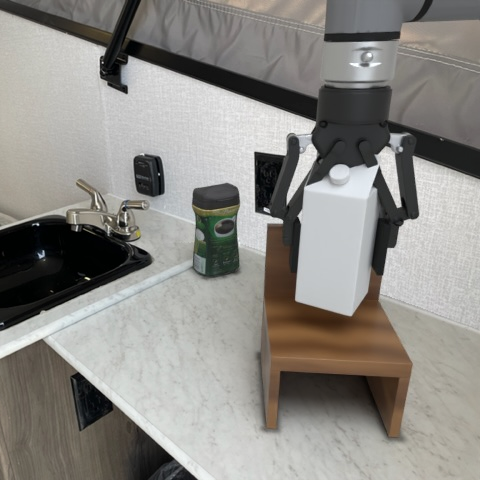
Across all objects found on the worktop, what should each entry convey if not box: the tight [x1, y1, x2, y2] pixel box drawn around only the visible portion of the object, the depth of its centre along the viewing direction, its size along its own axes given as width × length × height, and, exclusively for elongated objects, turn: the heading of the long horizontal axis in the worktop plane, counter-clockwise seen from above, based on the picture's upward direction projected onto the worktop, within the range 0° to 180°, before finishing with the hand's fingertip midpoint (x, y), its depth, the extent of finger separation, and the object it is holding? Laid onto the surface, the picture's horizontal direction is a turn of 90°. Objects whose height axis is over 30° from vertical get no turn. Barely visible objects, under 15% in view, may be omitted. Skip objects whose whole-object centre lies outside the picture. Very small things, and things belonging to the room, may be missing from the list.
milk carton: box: [295, 151, 382, 316], centre depth 60 cm, size 7×7×19 cm
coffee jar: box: [191, 182, 241, 278], centre depth 103 cm, size 10×8×19 cm
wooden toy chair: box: [259, 222, 414, 438], centre depth 65 cm, size 16×16×22 cm
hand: (334, 269), depth 62 cm, fingers closed on milk carton, 9 cm apart
